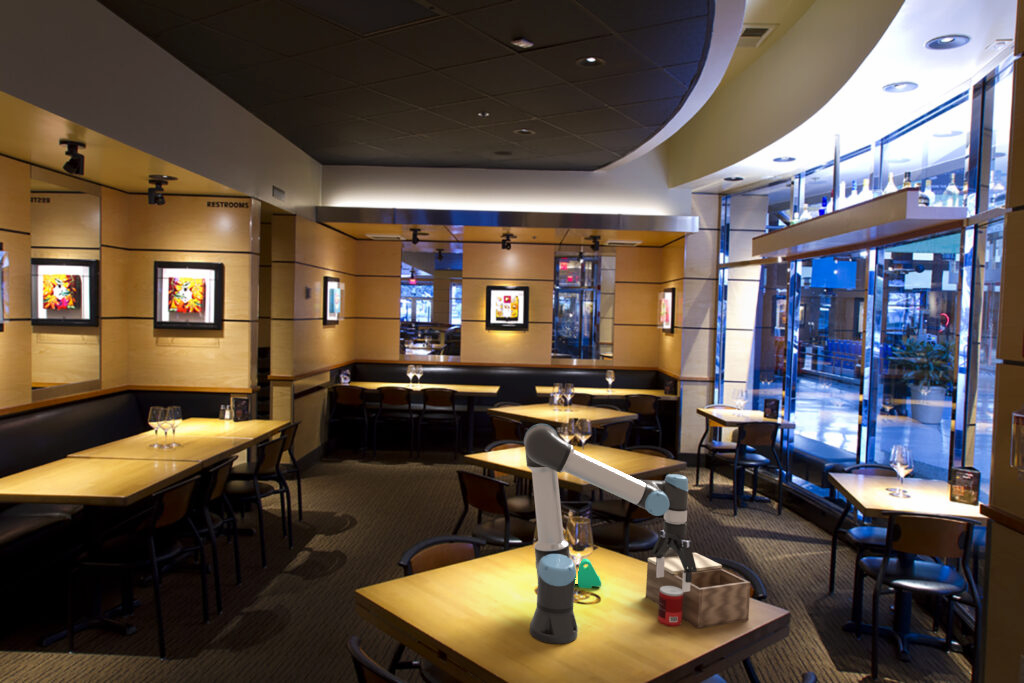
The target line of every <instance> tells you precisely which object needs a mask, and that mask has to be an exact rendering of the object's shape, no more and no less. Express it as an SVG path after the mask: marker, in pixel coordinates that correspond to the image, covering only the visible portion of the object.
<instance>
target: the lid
mask: <svg viewBox="0 0 1024 683" xmlns="http://www.w3.org/2000/svg"><path fill="white" fill-rule="evenodd" d="M681 549H682V548H681ZM692 553H693V557H694V561H695V565H696V569H697V571H701V570H709V569H717V568H721V569H723V565H722V564H721V563H718V562H716V561H714V560H712V559H710V558H708V557H706V556H704V555H701V554H699V553H697V552H692ZM664 556H665V557H662V558H665V564H664V570H666V571H668V572H670V573H671V574H681V573H683V572H684V571H685V570H684V568H683V565H682V563H681V560H680V558H679V556H678V553H676V551H675V550H673V549H672V548H669V550H668V551H667V552H666V553H665V555H664ZM648 561H649V562H651V563H653V564H655V565H656V556H654V557H648V558H647V562H648ZM687 569H688V567H687Z"/></svg>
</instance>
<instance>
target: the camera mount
mask: <svg viewBox="0 0 1024 683" xmlns="http://www.w3.org/2000/svg"><path fill="white" fill-rule="evenodd" d="M581 560H582V561H581ZM581 560H580V561H581V563H580V562H579V565H578V566H579V571H578V585H577V586H578V588H580V589H592V587H601V588H602V581H601V577H600V575H598V573H597V572H596V570H595V568H594V566H593V564H592V562H591V561H590V559H588V558H582V559H581ZM585 565H587V566H585ZM575 578H576V575H575ZM575 580H576V579H575Z"/></svg>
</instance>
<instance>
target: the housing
mask: <svg viewBox="0 0 1024 683" xmlns="http://www.w3.org/2000/svg"><path fill="white" fill-rule="evenodd" d="M646 566H647V567H646V582H645V583H646V586H645V597H646V598H647V597H648V599H649V600H651V601H653V602H654V603H655V602H656V604H657V605H659V591H660V588H661V587H663V586H674V587H678V588H680V589H682V580H683V573H678V574H671V573H670V572H668V571H666V570H664V577H660V578H657V577H656V572H657V566H656V565H655V564H653V563H651V562H649V561H648V560H647V565H646ZM750 597H751V581H748V580H746V579H744V578H742V577H741V576H738V575H736V574H734V573H732V572H729V571H728V570H725V569H724V568H717V569H709V570H701V571H696V572H692V578H691V582H690V591H688V592H683V608H682V621H684V622H686V623H687V624H689V625H691V626H692V627H694V628H695V629H697V630H698V629H699V630H700V629H704V628H710V627H714V626H715V627H716V626H722V625H726V624H733V623H737V622H744V621H749V619H750V618H749V616H750ZM743 620H744V621H743Z"/></svg>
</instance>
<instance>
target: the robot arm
mask: <svg viewBox="0 0 1024 683" xmlns="http://www.w3.org/2000/svg"><path fill="white" fill-rule="evenodd" d="M556 430H557V429H555V428H554V427H553V426H551V425H549V424H546V423H537V424H534V425H532V426H531V427H529V428H528V430H527V431H525V434H524V437H523V445H524V450H525V452H524V453H525V461H526V468H528V469H529V470H530V471H531V477H532V487H533V488H532V490H533V496H534V505H535V506H534V507H535V519H536V528H537V530H536V531H537V542H536V543H535V544H534V554H535V556H534V557H535V569H536V576H537V577H536V578H537V593H536V594H537V595H536V608H535V610H534V614H533V616H532V618H531V621H530V623H529V624H530V625H529V634H530V635H531V636H532V637H533V639H536V640H537V641H540V642H543V643H546V644H551V645H552V644H554V645H563V644H568V643H571V642H573V641H575V640H576V639H577V637H578V630H579V629H578V628H579V627H578V624H577V620H576V616H575V613H574V603H575V602H574V601H575V598H574V597H575V585H574V584H575V575H576V569H577V568H576V564H575V562H574V560H573V559H572V558H571V555H570V554H571V553H570V545H569V544H570V543H569V542H568V540H566V539H565V537H564V529H563V528H564V527H563V516H562V507H561V498H560V497H561V495H560V487H559V476H558V475H559V474H558V473H560V474H561V473H564V472H565V473H568V474H569V475H570V476H573V477H576V478H578V479H580V480H583V482H587V483H589V484H590V485H593V486H595V487H597V488H598V489H599V488H600V489H601V490H603V491H606V492H608V493H610V494H612V495H615V496H616V497H619V498H620V499H623V500H625V501H627V502H629V503H632V504H634V505H636V506H638V507H639V508H642V509H643V510H645V511H646V512H648V514H651V515H652V516H656V517H659V516H663V519H664V521H663V529H662V530H661V529H660V530H659V531H658V536H657V540H655V543H654V546H653V549H652V551H651V552H652V554H653V555H655V556H654V557H656V566H657V572H656V577H657V578H660V577H664V564H665V558H662V557H665V556H664V555H665V553H666V552H667V551H668V550H669V548H672V549H673V550H675V551H676V553H678V556H679V558H680V560H681V563H682V565H683V568H684V570H685V571H684V572H683V580H682V592H688V591H690V582H691V578H692V572H696V571H697V569H696V565H695V561H694V557H693V553H694V552H693V550H692V542H691V540H685V535H686V534H687V523H686V522H687V520H688V500H689V497H688V496H689V479H688V478H687V477H686V476H685V475H682V474H676V473H672V474H666V476H665V478H664V480H650V479H637V478H635V477H633V476H631V475H629V474H626V473H624V472H622V471H621V470H619V469H616V468H614V467H612V466H610V465H608V464H605V463H603V462H601V461H599V460H597V459H596V458H593V457H590V456H588V455H586V454H584V453H582V452H580V451H577V450H575V449H574V446H573V445H572V444H571V443H568V442H566V441H565V440H564V439H561V437H559V435H558V432H557V431H556ZM681 548H682V549H681ZM687 567H688V569H687Z"/></svg>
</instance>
